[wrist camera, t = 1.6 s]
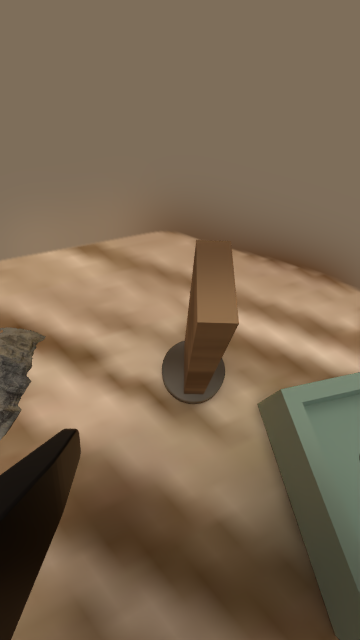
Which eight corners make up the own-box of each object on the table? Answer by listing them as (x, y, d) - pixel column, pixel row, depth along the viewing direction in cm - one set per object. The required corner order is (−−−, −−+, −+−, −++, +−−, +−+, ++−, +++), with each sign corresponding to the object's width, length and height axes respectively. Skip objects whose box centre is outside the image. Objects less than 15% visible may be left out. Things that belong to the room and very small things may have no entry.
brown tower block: (224, 404, 21) (289, 337, 9) (160, 403, 21) (147, 333, 9) (220, 345, 23) (269, 234, 12) (163, 344, 23) (156, 230, 12)
